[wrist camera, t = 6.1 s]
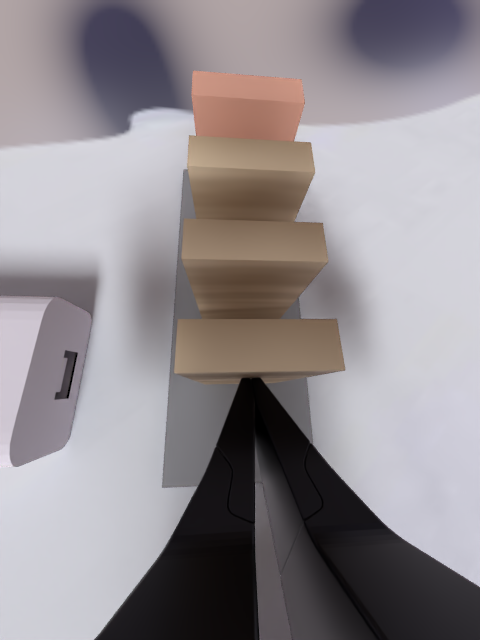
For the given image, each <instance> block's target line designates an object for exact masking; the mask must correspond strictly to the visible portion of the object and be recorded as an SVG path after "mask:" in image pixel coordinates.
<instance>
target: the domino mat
mask: <svg viewBox="0 0 480 640" xmlns="http://www.w3.org/2000/svg"><path fill="white" fill-rule="evenodd" d="M184 219H196V214H195V209H194V203H193V197H192V191H191V185H190V179H189V174H188V170H184V171H183V186H182V201H181V216H180V230H179V245H178V260H177V275H176V289H175V304H174V319H173V334H172V348H171V363H170V378H169V393H168V408H167V422H166V437H165V452H164V467H163V481H162V488H168V487H188V486H198V485H199V483H200V481H201V479H202V477H203V475H204V473H205V470H206V468H207V466H208V463H209V461H210V458H211V456H212V453H213V451H214V448H215V447H216V443H217V441H218V438H219V435H220V433H221V430H222V427H223V425H224V422H225V419H226V417H227V414H228V412H229V409H230V406H231V404H232V401H233V398H234V396H235V393H236V390H237V388H238V385H239V384H202V383H199V382H197V381H194V380H191V379H189V378H186V377H183V376H181V375H178V374H175V373H174V366H175V351H176V337H177V323H178V319H202V317H201V314H200V311H199V308H198V305H197V303H196V300H195V297H194V294H193V291H192V288H191V285H190V282H189V279H188V277H187V274H186V271H185V268H184V265H183V262H182V259H181V257H182V241H183V225H184ZM280 319H301V318H300V307H299V297H298V298H297V299H296V300H295V302H294V303H293V304H292V305H291V306H290V307H289V309H288V310H287V311H286V312H285V313H284V314H283V316H282V317H281V318H280ZM265 384H266V385H267V387H268V388H269V389H270V390H271V392H272V393H273V394H274V396H275V397H276V398H277V399H278V401H279V402H280V403H281V405H282V406H283V407H284V408H285V410H286V411H287V412H288V413H289V415H290V416H291V417H292V419H293V420H294V421H295V422H296V424H297V425H298V426H299V428H300V429H301V430H302V431H303V433H304V434H305V435H306V437H307V438H308V439H309V440H310V443H312V444H313V438H312V428H311V418H310V408H309V398H308V388H307V378H306V377H305V378H299V379H294V380H288V381H282V382H277V383H265ZM255 483H262V479H261V474H260V468H259V463H258V458H257V453H256V448H255Z"/></svg>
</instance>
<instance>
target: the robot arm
mask: <svg viewBox="0 0 480 640" xmlns="http://www.w3.org/2000/svg"><path fill="white" fill-rule="evenodd" d="M255 448H256V453H257V458H258V463H259V468H260V474H261V479H262V484H263V489H264V495H265V500H266V505H267V510H268V515H269V521H270V526H271V531H272V536H273V541H274V547H275V552H276V557H277V562H278V567H279V573H280V575H281V577H280V578H281V583H282V588H283V594H284V599H285V604H286V609H287V614H288V620H289V625H290V630H291V635H292V640H480V587H479V586H477V585H476V584H474V583H473V582H471V581H469V580H468V579H466V578H465V577H463V576H461V575H460V574H458V573H456V572H455V571H453V570H452V569H450V568H448V567H447V566H445V565H444V564H442V563H440V562H439V561H437V560H436V559H434V558H432V557H431V556H429V555H428V554H426V553H424V552H423V551H421V550H419V549H418V548H416V547H415V546H413V545H411V544H410V543H408V542H407V541H405V540H404V539H402V538H401V537H400V536H398V535H397V534H396V533H394V532H393V531H392V530H391V529H390V528H388V527H387V526H386V525H385V524H384V523H383V522H382V521H381V520H380V519H379V518H378V517H377V516H376V515H375V514H374V513H373V512H372V511H371V510H370V508H369V507H368V506H367V505H366V504H365V503H364V502H363V501H362V500H361V499H360V498H359V497H358V496H357V495H356V494H355V492H354V491H353V490H352V489H351V488H350V487H349V486H348V485H347V484H346V483H345V482H344V481H343V480H342V479H341V477H340V476H339V475H338V474H337V473H336V472H335V471H334V470H333V469H332V468H331V466H330V465H329V464H328V463H327V462H326V460H325V459H324V458H323V457H322V456H321V454H320V453H319V452H318V451H317V449H316V448H315V447H314V445H313V444H312V443H310V440H309V439H308V438H307V437H306V435H305V434H304V433H303V431H302V430H301V429H300V428H299V426H298V425H297V424H296V422H295V421H294V420H293V419H292V417H291V416H290V415H289V413H288V412H287V411H286V410H285V408H284V407H283V406H282V405H281V403H280V402H279V401H278V399H277V398H276V397H275V396H274V394H273V393H272V392H271V390H270V389H269V388H268V387H267V385H266V384H265V383H264V381H263V380H262V379H261V378H251V379H250V378H241V380H240V383H239V385H238V388H237V390H236V393H235V396H234V398H233V401H232V404H231V406H230V409H229V412H228V414H227V417H226V419H225V422H224V425H223V427H222V430H221V433H220V435H219V438H218V441H217V443H216V447H215V448H214V451H213V453H212V456H211V458H210V461H209V463H208V466H207V468H206V470H205V473H204V475H203V477H202V479H201V481H200V483H199V485H198V487H197V489H196V491H195V493H194V495H193V497H192V498H191V500H190V502H189V504H188V506H187V508H186V510H185V512H184V514H183V516H182V518H181V519H180V521H179V523H178V525H177V527H176V529H175V531H174V532H173V534H172V536H171V538H170V540H169V541H168V543H167V545H166V546H165V548H164V549H163V551H162V553H161V554H160V556H159V557H158V558H157V560H156V561H155V562H154V564H153V565H152V566H151V568H150V569H149V570H148V571H147V573H146V574H145V575H144V577H143V578H142V579H141V581H140V582H139V583H138V584H137V586H136V587H135V588H134V590H133V591H132V592H131V593H130V595H129V596H128V597H127V599H126V600H125V601H124V603H123V604H122V605H121V606H120V608H119V609H118V610H117V612H116V613H115V614H114V616H113V617H112V618H111V619H110V621H109V622H108V623H107V625H106V626H105V627H104V629H103V630H102V631H101V632H100V634H99V635H98V636H97V637H96V638H95V639H94V640H259V623H258V603H257V582H256V562H255Z"/></svg>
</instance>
